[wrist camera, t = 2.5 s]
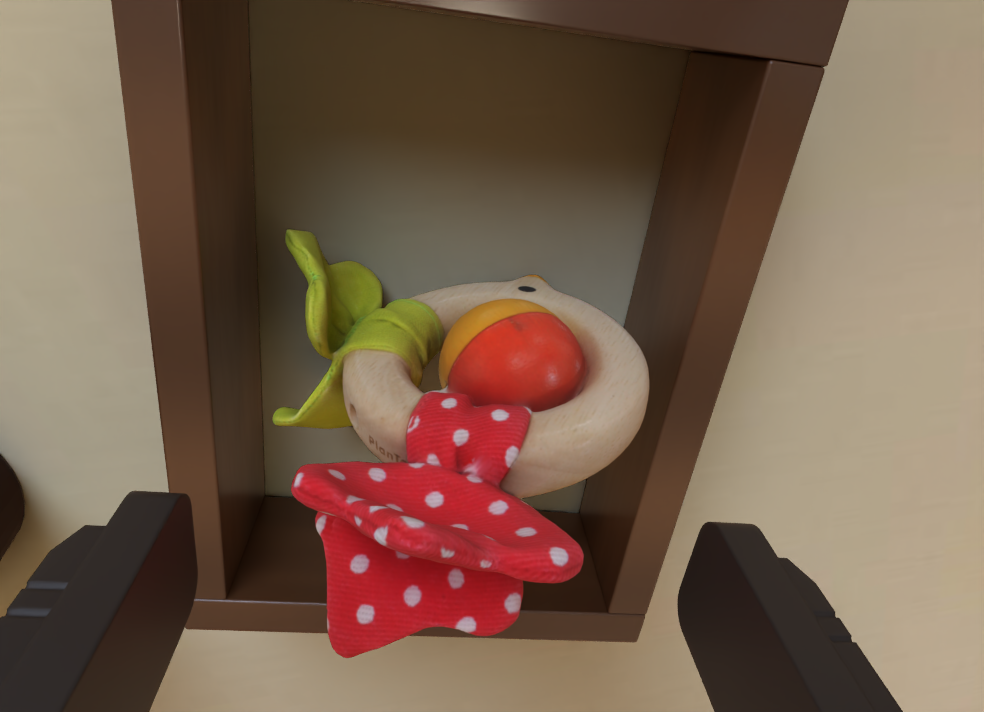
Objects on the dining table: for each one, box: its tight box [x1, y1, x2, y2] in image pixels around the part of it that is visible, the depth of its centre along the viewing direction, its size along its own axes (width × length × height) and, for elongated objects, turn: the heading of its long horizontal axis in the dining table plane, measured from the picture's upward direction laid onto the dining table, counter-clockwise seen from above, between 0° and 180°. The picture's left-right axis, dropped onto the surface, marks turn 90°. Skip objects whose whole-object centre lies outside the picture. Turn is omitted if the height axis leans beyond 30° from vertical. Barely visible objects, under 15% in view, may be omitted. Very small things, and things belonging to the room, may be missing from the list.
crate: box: [111, 0, 849, 642], centre depth 17 cm, size 17×13×4 cm
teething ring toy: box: [273, 229, 649, 658], centre depth 15 cm, size 6×11×9 cm
